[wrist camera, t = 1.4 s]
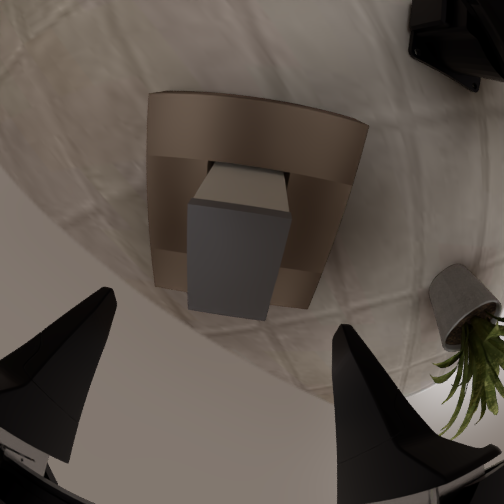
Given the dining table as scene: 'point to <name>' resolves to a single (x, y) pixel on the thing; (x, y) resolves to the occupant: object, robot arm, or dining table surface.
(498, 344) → the house plant
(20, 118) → the dining table surface
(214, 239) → the plug
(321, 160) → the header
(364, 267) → the dining table surface
